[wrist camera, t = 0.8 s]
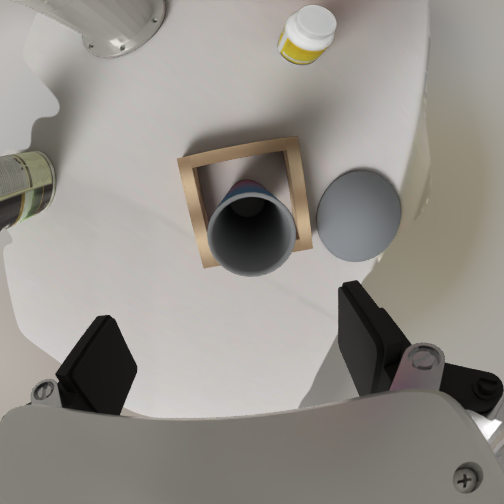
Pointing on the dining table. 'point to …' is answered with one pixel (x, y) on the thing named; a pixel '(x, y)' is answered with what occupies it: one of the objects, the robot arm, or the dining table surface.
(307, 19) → the supplement bottle
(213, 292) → the dining table surface
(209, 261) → the socket
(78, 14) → the robot arm
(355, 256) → the disc
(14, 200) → the coffee can
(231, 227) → the cup
